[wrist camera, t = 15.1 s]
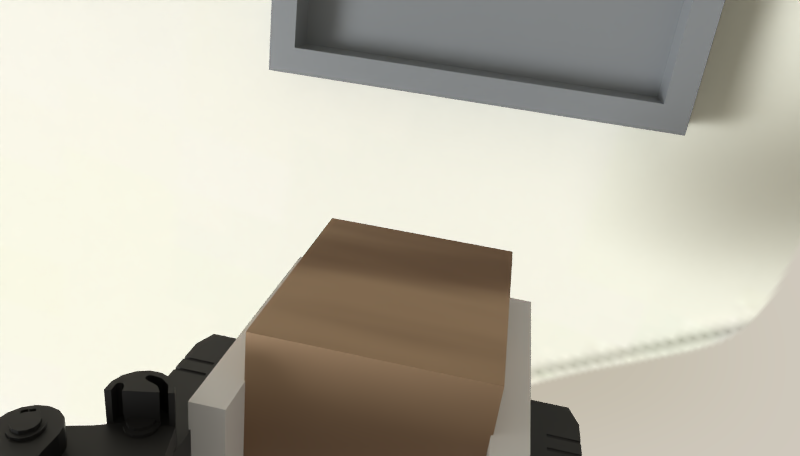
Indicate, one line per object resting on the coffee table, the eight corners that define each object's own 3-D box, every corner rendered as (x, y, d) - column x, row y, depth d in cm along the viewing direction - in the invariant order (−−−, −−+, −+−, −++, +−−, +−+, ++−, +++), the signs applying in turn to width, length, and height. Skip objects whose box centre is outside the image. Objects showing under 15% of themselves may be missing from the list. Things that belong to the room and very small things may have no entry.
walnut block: (332, 217, 18) (245, 331, 12) (512, 251, 17) (504, 386, 12) (319, 366, 20) (240, 520, 14) (480, 401, 19) (461, 575, 14)
